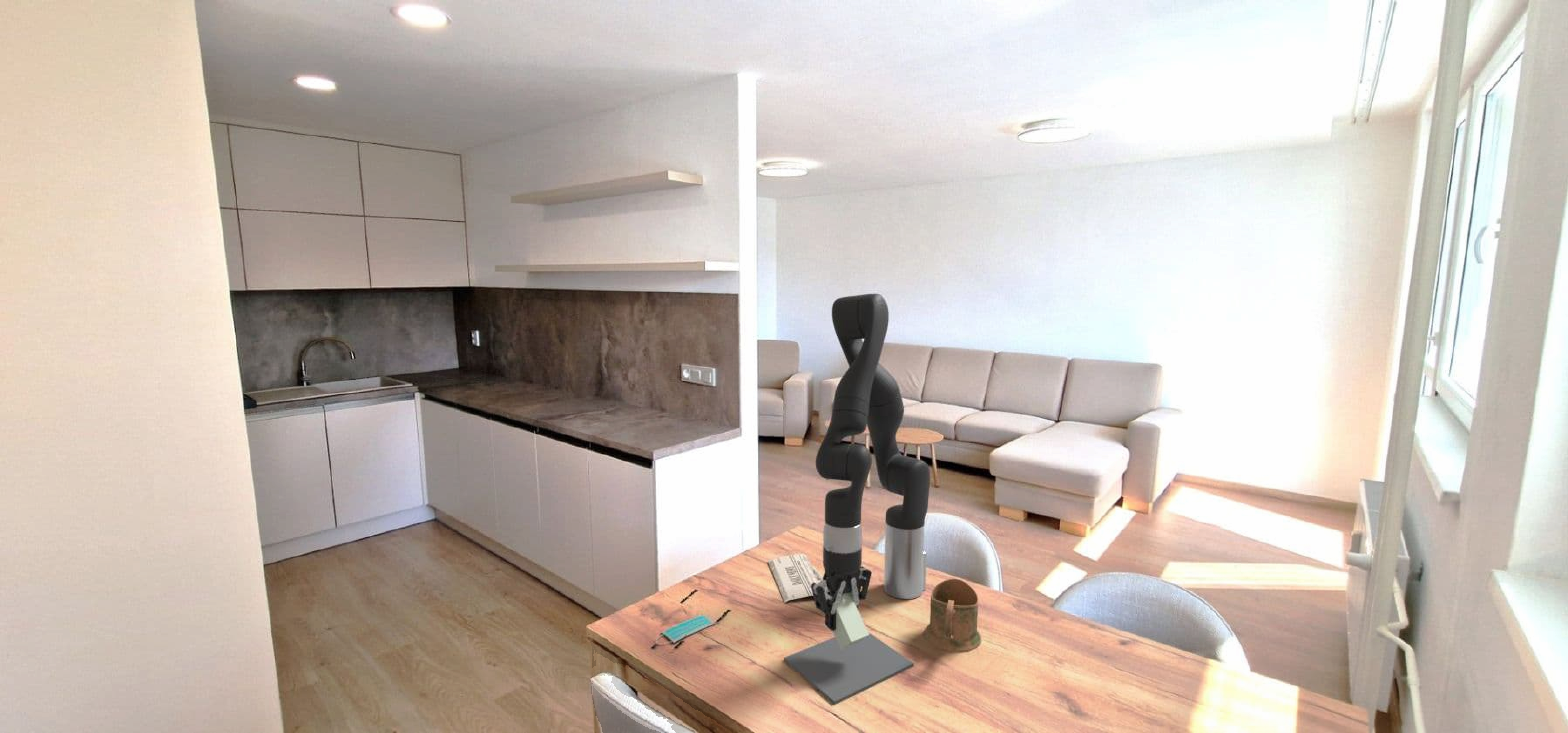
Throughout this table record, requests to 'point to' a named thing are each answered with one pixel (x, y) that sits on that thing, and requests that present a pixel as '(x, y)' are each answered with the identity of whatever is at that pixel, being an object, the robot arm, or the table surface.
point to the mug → (953, 617)
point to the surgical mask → (688, 626)
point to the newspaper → (794, 576)
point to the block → (848, 623)
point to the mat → (847, 666)
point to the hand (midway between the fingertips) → (841, 624)
